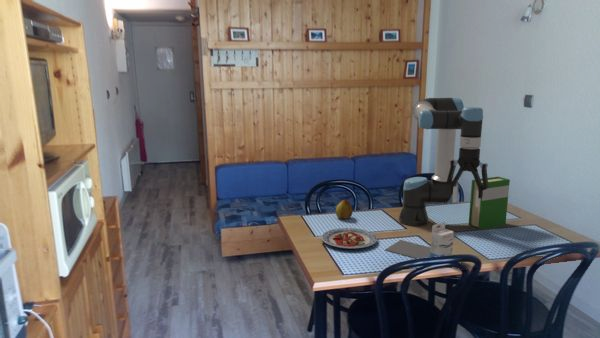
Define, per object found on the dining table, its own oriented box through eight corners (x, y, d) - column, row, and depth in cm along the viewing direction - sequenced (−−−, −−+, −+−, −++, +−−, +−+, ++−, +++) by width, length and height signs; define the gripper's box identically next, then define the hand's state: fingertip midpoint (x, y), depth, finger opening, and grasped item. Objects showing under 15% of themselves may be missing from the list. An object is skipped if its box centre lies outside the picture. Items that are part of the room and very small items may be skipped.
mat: (384, 250, 193) (384, 249, 193) (400, 240, 205) (400, 239, 204) (425, 261, 181) (425, 260, 181) (440, 250, 193) (440, 249, 193)
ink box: (439, 262, 180) (441, 228, 177) (429, 258, 185) (431, 225, 182) (452, 257, 185) (454, 224, 182) (442, 253, 189) (444, 221, 186)
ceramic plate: (312, 236, 211) (312, 230, 210) (358, 229, 221) (358, 223, 220) (337, 256, 188) (337, 249, 187) (388, 246, 198) (388, 240, 197)
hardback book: (479, 229, 218) (483, 183, 213) (468, 225, 225) (471, 179, 220) (505, 224, 225) (509, 179, 220) (493, 220, 232) (497, 176, 227)
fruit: (336, 215, 243) (336, 194, 240) (352, 215, 241) (352, 194, 239) (335, 220, 234) (335, 198, 232) (352, 220, 233) (352, 199, 231)
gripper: (439, 146, 173) (436, 201, 178) (495, 151, 160) (490, 211, 165) (446, 143, 179) (443, 197, 184) (501, 148, 166) (496, 206, 171)
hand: (465, 203), depth 174 cm, fingers open, 8 cm apart
